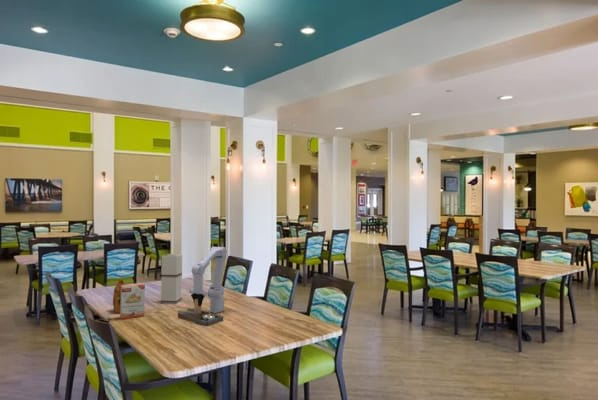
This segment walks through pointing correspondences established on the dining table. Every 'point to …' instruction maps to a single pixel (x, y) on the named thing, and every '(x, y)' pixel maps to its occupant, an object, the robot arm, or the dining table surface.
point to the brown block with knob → (197, 307)
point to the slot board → (191, 314)
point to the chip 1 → (205, 317)
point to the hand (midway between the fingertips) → (197, 305)
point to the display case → (171, 278)
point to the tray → (202, 322)
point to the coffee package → (117, 295)
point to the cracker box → (132, 300)
